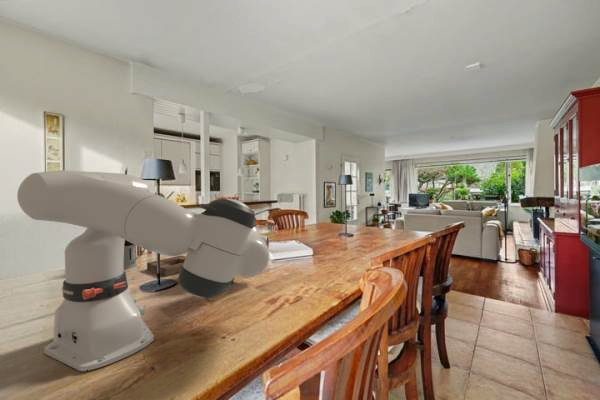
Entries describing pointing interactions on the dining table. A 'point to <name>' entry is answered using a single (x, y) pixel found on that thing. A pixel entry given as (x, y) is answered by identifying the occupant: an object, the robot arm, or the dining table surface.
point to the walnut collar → (167, 265)
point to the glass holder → (130, 255)
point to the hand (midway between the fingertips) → (198, 242)
